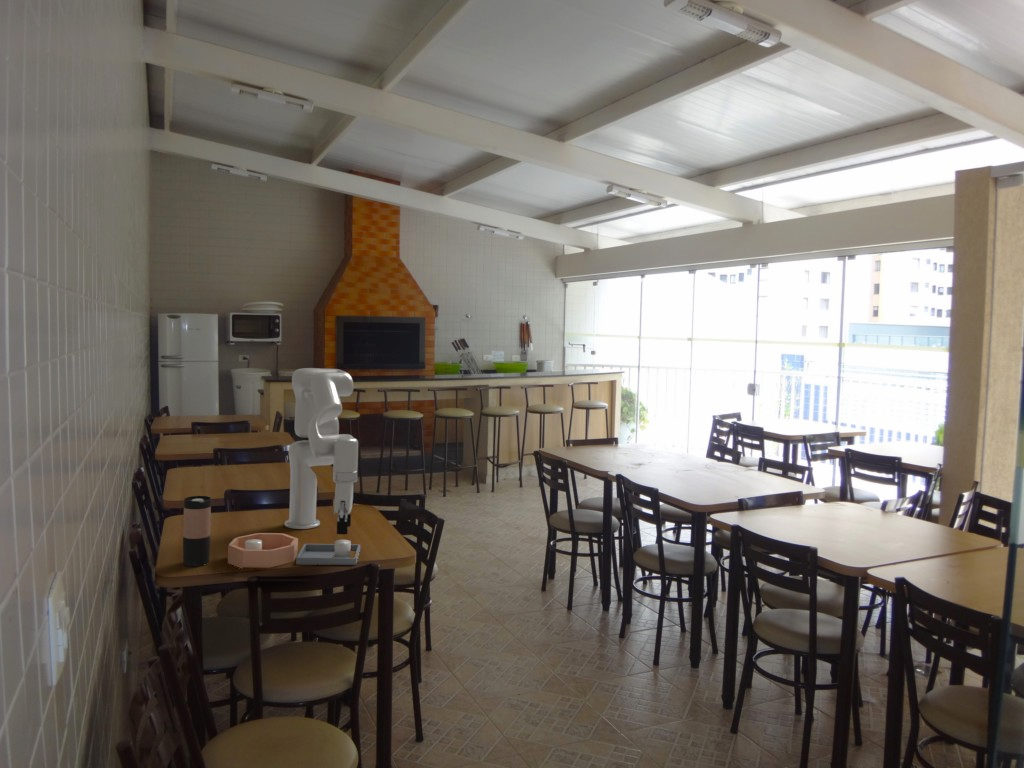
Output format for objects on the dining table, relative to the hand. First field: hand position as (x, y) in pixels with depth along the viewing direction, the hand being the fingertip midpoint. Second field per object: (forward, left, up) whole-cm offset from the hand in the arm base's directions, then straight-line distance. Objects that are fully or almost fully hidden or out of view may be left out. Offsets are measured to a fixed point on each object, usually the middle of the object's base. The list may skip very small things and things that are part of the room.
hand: (343, 530), depth 228 cm
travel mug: (+4, -43, -10) cm, 45 cm away
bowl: (0, -24, -10) cm, 26 cm away
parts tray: (-1, -4, -10) cm, 11 cm away
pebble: (-1, 0, -9) cm, 9 cm away
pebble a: (0, -27, -9) cm, 29 cm away
